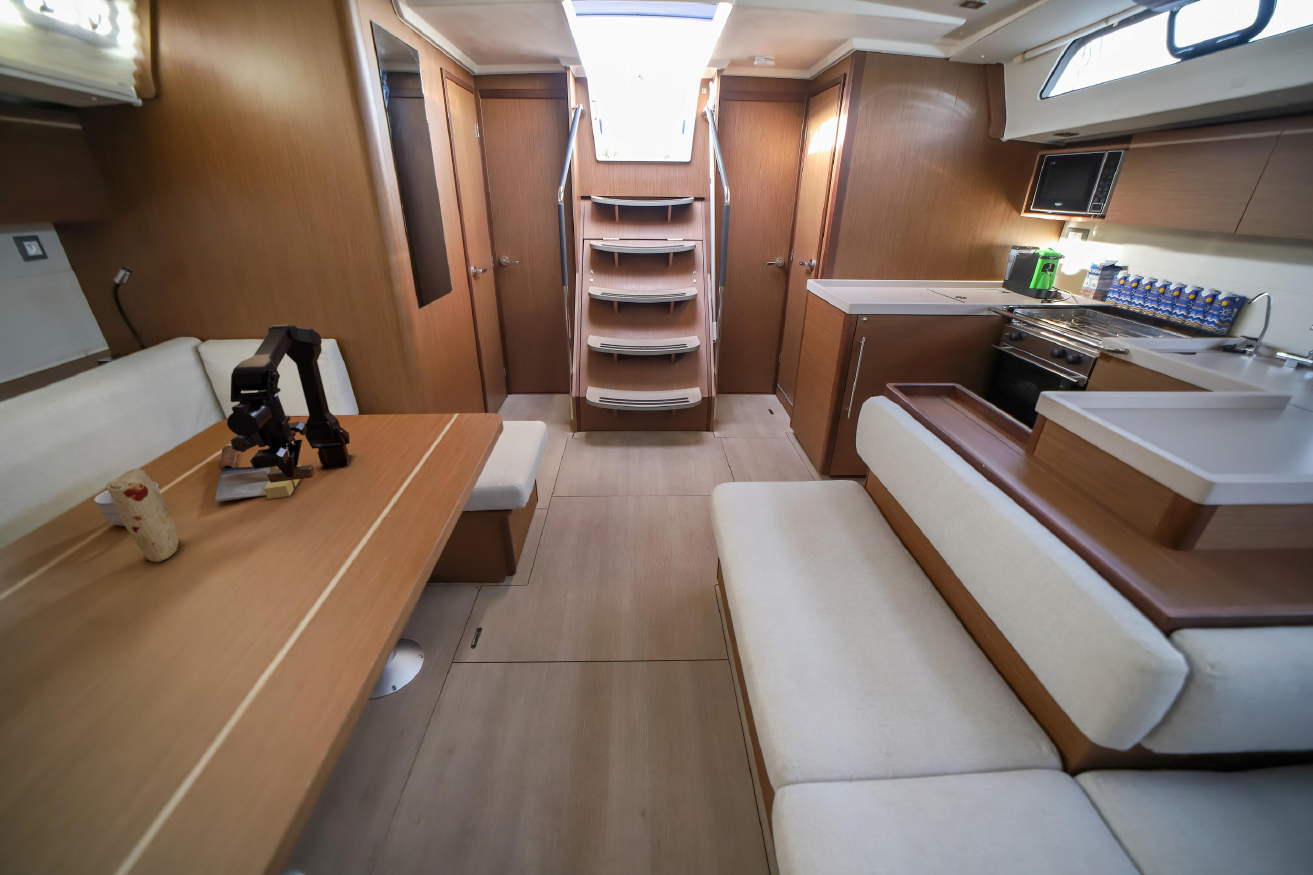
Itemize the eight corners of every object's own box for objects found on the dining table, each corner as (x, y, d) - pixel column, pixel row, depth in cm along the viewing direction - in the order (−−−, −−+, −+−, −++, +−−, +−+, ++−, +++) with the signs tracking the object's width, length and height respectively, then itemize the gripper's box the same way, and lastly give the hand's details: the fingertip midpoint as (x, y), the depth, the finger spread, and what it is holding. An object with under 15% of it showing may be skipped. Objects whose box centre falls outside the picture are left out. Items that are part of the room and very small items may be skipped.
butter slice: (294, 489, 135) (290, 478, 133) (289, 496, 132) (285, 485, 130) (272, 491, 133) (268, 481, 132) (267, 499, 130) (263, 488, 129)
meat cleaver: (271, 494, 132) (266, 481, 131) (217, 508, 126) (211, 494, 125) (270, 447, 157) (265, 436, 155) (224, 457, 151) (219, 445, 149)
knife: (315, 472, 126) (311, 462, 124) (312, 477, 124) (308, 467, 122) (228, 483, 121) (223, 473, 119) (224, 489, 119) (219, 478, 117)
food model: (179, 560, 108) (138, 481, 100) (139, 570, 106) (92, 490, 97) (190, 536, 116) (152, 461, 107) (153, 545, 113) (110, 468, 104)
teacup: (108, 518, 122) (92, 491, 118) (167, 501, 129) (154, 474, 126) (112, 543, 113) (95, 514, 110) (175, 523, 121) (161, 495, 117)
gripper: (245, 405, 122) (267, 460, 129) (210, 439, 106) (238, 500, 113) (298, 400, 125) (316, 454, 132) (271, 432, 109) (294, 492, 116)
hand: (292, 474), depth 123 cm, fingers closed on knife, 2 cm apart
